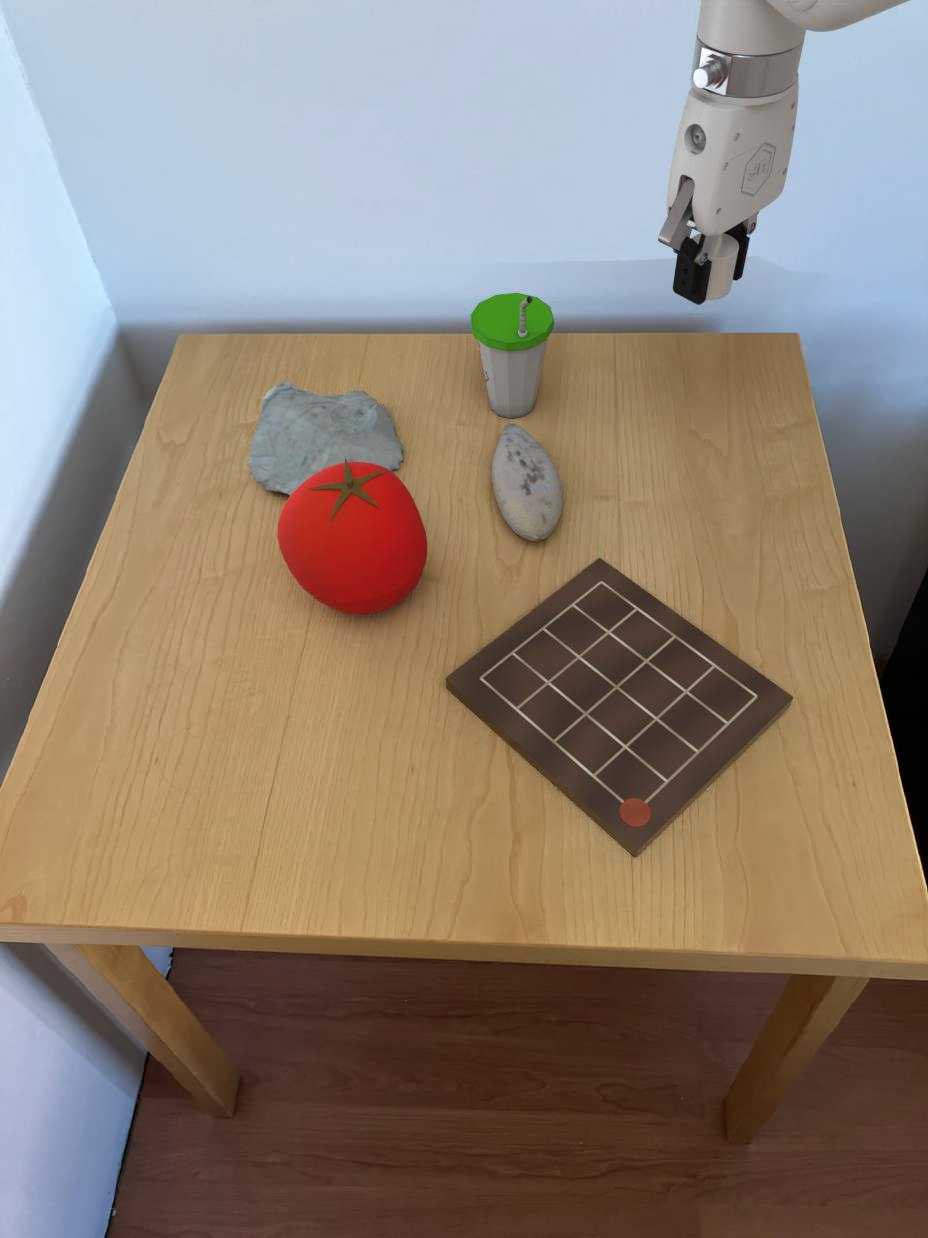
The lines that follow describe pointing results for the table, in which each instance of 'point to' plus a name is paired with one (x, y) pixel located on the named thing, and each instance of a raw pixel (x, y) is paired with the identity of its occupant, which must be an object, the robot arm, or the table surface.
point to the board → (619, 702)
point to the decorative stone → (526, 484)
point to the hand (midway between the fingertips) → (707, 283)
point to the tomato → (353, 538)
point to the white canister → (721, 265)
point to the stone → (318, 436)
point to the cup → (512, 349)
